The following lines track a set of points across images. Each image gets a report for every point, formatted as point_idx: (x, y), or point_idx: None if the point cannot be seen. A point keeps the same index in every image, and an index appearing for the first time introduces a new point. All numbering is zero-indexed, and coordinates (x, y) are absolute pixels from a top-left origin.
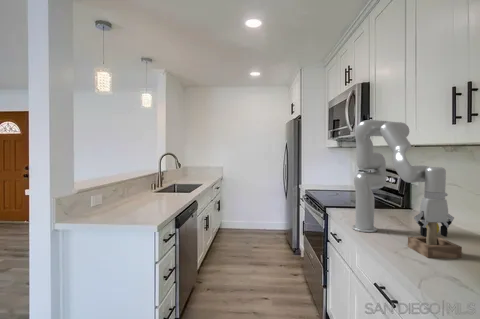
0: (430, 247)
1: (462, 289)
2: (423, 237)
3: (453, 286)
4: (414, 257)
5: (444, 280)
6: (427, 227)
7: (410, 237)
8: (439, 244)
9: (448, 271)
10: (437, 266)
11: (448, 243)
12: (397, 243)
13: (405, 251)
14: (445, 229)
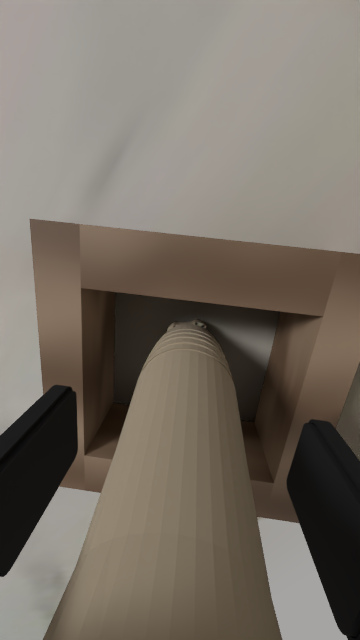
0: (68, 485)
1: (29, 619)
2: (191, 263)
3: (16, 606)
4: (20, 409)
5: (13, 580)
6: (106, 477)
7: (46, 244)
8: (293, 326)
9: (76, 543)
10: (65, 505)
11: (283, 444)
12: (42, 127)
13: (16, 319)
14: (329, 603)
